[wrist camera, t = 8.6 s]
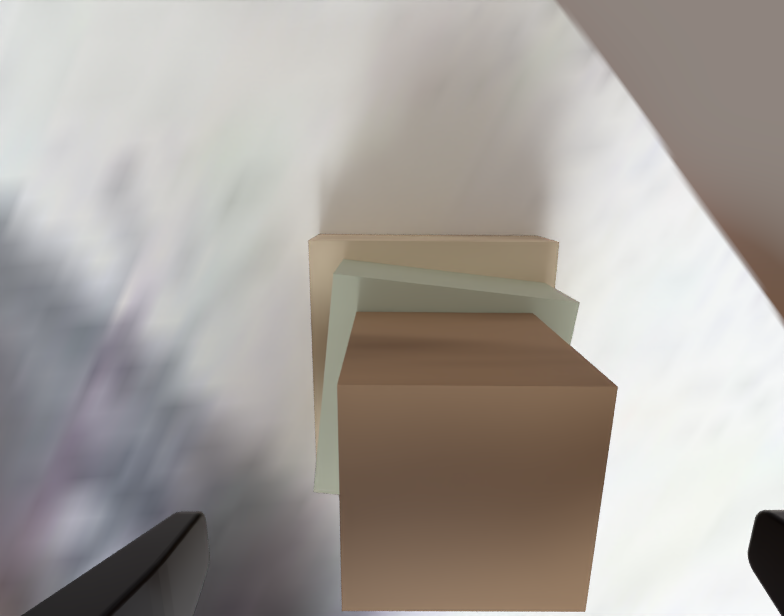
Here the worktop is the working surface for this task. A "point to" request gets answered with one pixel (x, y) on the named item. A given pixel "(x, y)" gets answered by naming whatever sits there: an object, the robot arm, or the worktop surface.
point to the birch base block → (434, 252)
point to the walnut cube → (468, 464)
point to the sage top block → (417, 294)
